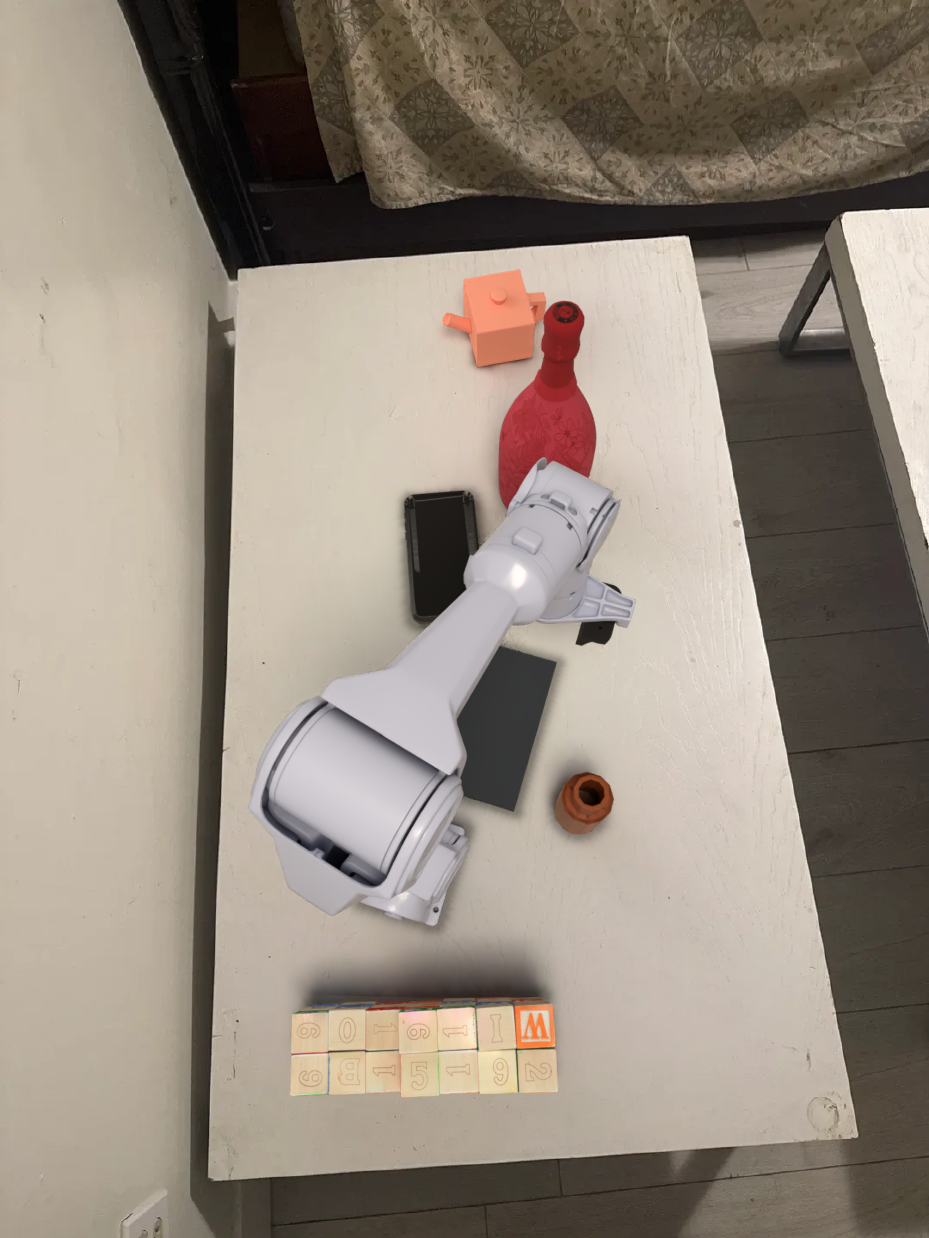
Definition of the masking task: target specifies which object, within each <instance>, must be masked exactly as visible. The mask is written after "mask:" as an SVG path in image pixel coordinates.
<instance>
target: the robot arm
mask: <svg viewBox="0 0 929 1238" xmlns="http://www.w3.org/2000/svg"><path fill="white" fill-rule="evenodd" d="M614 492H615V491H614V490H612V489H611V488H609V487H607V486H604V485H602V484H601V483H598V482H597V481H595V480H592V479H591V478H590V477H589V478H587V477H585V476H583V475H581V474H579V473H577V472H575V471H573V470H571V469H569V468H567V467H565V466H563V465H561V464H559V463H558V462H556V461H552V462H550V463H549V464H548V465H547V459H546V458H545V457H543V458H541V459H540V460H539V461H538V462H537V463H536V464H535V465H534V466H533V467H532V469H531V470H530V472H529V473H528V475H527V476H526V478H525V479H524V481H523V482H522V484H521V486H520V488H519V490H518V492H517V494H516V495H515V496H514V497H513V499H512V501H511V502H510V504H509V507H508V510H507V509H506V514H505V517H504V519H503V520H502V521H501V522H500V524H499V525H498V526H497V527H496V528H495V529H494V531H492V533H491V534H490V535H489V536H488V538H487V539H486V540H484V542H483V543H482V544H481V546H479V550H478V551H477V552H476V553H475V554H474V555H470V557H469V560H468V563H467V566H466V569H465V572H464V584H465V585H466V589H467V590H466V591H464V592H463V593H462V594H461V595H460V596H459V597H458V598H457V599H456V600H455V601H454V602H453V603H452V604H451V605H450V606H449V607H448V608H447V609H446V610H445V611H444V612H443V613H441V614H440V615H439V616H438V617H437V618H436V619H435V620H434V621H433V622H432V623H431V624H428V625H427V627H426V628H424V629H423V630H422V631H421V633H419V634H418V636H416V637H415V638H414V639H413V640H412V641H411V642H410V643H409V644H408V645H407V646H405V648H404V649H402V650H401V652H400V653H398V654H397V655H396V656H395V657H394V658H393V659H392V660H391V661H390V662H389V663H387V664H386V666H385V667H384V668H382V669H379V670H374V671H369V672H363V673H358V674H352V675H346V676H341V677H336V678H334V679H333V680H332V681H330V683H329V684H328V685H327V686H326V688H325V689H324V690H323V691H322V693H321V694H320V695H317V696H314V697H312V698H309V699H307V700H304V701H302V702H300V703H299V704H298V705H296V706H295V707H294V708H293V709H291V711H290V712H289V713H288V714H287V715H286V716H285V717H284V718H283V719H282V720H281V722H280V723H279V724H278V725H277V727H276V728H275V730H274V731H273V733H272V735H271V736H270V738H269V740H268V741H267V742H266V744H265V746H264V748H263V750H262V753H260V754H261V755H260V757H259V759H258V762H257V765H256V767H255V774H254V779H253V783H252V786H251V789H250V799H249V803H248V805H247V810H248V811H249V812H250V813H251V815H252V816H253V817H254V818H255V819H256V820H257V821H258V823H259V824H260V825H261V826H262V827H263V828H264V830H265V831H266V832H267V834H268V835H269V836H270V837H271V838H272V841H273V842H274V846H275V850H276V853H277V857H278V860H279V864H280V867H281V871H282V874H283V877H284V878H283V879H284V882H285V884H286V887H287V888H288V889H289V890H290V891H292V892H294V893H295V894H296V895H297V896H299V897H301V898H302V899H303V900H305V901H306V902H308V903H309V904H311V905H313V906H314V907H315V908H317V909H318V910H320V911H322V912H323V913H325V914H326V915H327V916H329V917H335V916H336V915H338V914H340V913H342V912H343V911H346V910H347V909H349V908H351V907H353V906H354V905H356V904H359V903H361V904H362V905H363V904H364V905H367V906H368V907H369V906H370V907H373V908H375V909H378V910H382V911H383V915H384V916H387V917H390V918H393V919H396V920H399V921H403V919H404V918H405V919H409V920H411V921H415V922H418V923H421V924H424V925H427V926H429V927H435V926H436V925H437V924H438V923H439V920H440V917H441V914H442V910H443V906H444V904H445V903H444V902H445V900H446V897H447V893H448V891H449V887H450V885H451V884H452V882H453V880H454V879H455V877H456V875H457V873H458V872H459V870H460V869H461V867H462V865H463V862H464V861H465V859H466V857H467V855H468V853H469V850H470V844H469V843H470V842H469V837H467V836H466V835H465V833H466V831H465V829H464V828H463V827H461V826H459V825H456V824H452V822H453V820H454V818H455V816H456V814H457V812H458V810H459V808H460V806H461V804H462V801H463V798H464V796H463V790H462V786H461V783H462V782H461V779H460V777H461V774H462V771H463V769H464V766H465V763H466V759H467V753H466V749H465V746H464V743H463V740H462V737H461V734H460V731H459V728H458V725H457V718H458V716H459V714H460V713H461V711H462V709H463V708H464V706H465V704H466V702H467V701H468V699H469V697H470V696H471V694H472V692H473V690H474V689H475V687H476V685H477V684H478V682H479V680H480V678H481V677H482V675H483V673H484V672H485V670H486V668H487V666H488V665H489V663H490V661H491V660H492V658H493V656H494V654H495V653H496V651H497V649H498V648H499V646H501V644H502V643H503V640H504V639H505V637H506V636H507V634H508V632H509V630H510V629H511V627H513V626H514V627H519V626H526V625H530V624H533V623H534V622H535V623H539V624H542V625H543V624H545V625H556V624H557V625H560V624H575V623H578V624H579V623H580V626H579V629H578V633H577V637H576V641H575V645H577V646H580V647H583V646H584V645H587V644H590V643H594V644H598V645H603V646H605V645H607V643H608V642H609V641H610V640H611V639H612V636H613V633H614V629H615V626H617V627H620V628H625V629H628V628H629V626H630V623H631V622H632V619H633V615H634V611H635V606H636V603H637V599H635V598H632V597H629V596H627V595H624V594H622V591H621V589H620V588H619V587H618V586H617V585H614V584H611V583H609V582H604V581H601V580H600V579H598V578H596V577H595V575H594V576H593V575H592V574H590V572H591V569H592V565H593V563H594V560H595V558H596V556H597V554H598V553H599V551H600V550H601V548H602V547H603V545H604V543H605V541H606V540H607V538H608V536H609V535H610V532H611V530H612V529H613V526H614V524H615V522H616V520H617V517H618V515H619V512H620V507H621V505H622V501H623V500H622V499H621V498H620V499H619V498H617V497H615V496H614ZM435 908H437V909H438V910H437V912H435V911H434V909H435Z"/></svg>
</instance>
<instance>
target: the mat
mask: <svg viewBox="0 0 929 1238" xmlns="http://www.w3.org/2000/svg"><path fill="white" fill-rule="evenodd" d="M556 667H557V661H553V660H550V659H547V658H543V657H540V656H536V655H533V654H531V653H526V652H523V651H519V650H516V649H512V648H509V647H505V646H502V645H500V646H499V648H498V649H497V651H496V653H495V654H494V656H493V658H492V660H491V661H490V663H489V665H488V666H487V668H486V670H485V672H484V673H483V675H482V677H481V678H480V680H479V682H478V684H477V685H476V687H475V689H474V690H473V692H472V694H471V696H470V697H469V699H468V701H467V702H466V704H465V706H464V708H463V709H462V711H461V713H460V714H459V716H458V718H457V725H458V728H459V731H460V734H461V737H462V740H463V743H464V746H465V749H466V753H467V759H466V763H465V766H464V769H463V771H462V774H461V777H460V779H461V782H462V783H461V786H462V790H463V797H465V798H468V799H471V800H474V801H478V802H480V803H483V804H484V803H485V804H487V805H491V806H493V807H496V808H497V807H498V808H500V809H504V810H506V811H510V812H515V810H516V806H517V802H518V799H519V796H520V792H521V789H522V785H523V782H524V778H525V774H526V772H527V768H528V764H529V760H530V757H531V754H532V751H533V747H534V743H535V740H536V737H537V733H538V729H539V725H540V722H541V719H542V716H543V712H544V709H545V706H546V702H547V698H548V694H549V692H550V688H551V685H552V680H553V677H554V674H555V670H556Z"/></svg>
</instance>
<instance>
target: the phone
mask: <svg viewBox="0 0 929 1238" xmlns="http://www.w3.org/2000/svg"><path fill="white" fill-rule="evenodd" d="M403 509H404V510H403V511H404V513H403V517H404V531H405V532H404V537H405V540H406V541H405V542H406V553H407V569H408V585H409V598H410V612H411V616H412V619H413V621H414V622H415V623H417V624H419V625H430V624H431V623H432V622H433V621H434V620H435V619H436V618H437V617H438V616H439V615H440V614H441V613H443V612H444V611H445V610H446V609H447V608H448V607H449V606H450V605H451V604H452V603H453V602H454V601H455V600H456V599H457V598H458V597H459V596H460V595H461V594H462V593H463V592H464V591H466V590H467V589H466V585H465V584H464V572H465V569H466V566H467V563H468V560H469V557H470V555H474V554H475V553H476V552H477V551H478V550H479V548H480V546H479V535H478V528H477V527H478V525H477V515H476V505H475V498H474V495H473V493H471V492H470V491H468V490H465V489H464V490H449V491H437V492H426V493H413V494H410V495H408V496H407V497H406V498H405V499H404V502H403Z"/></svg>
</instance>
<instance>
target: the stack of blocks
mask: <svg viewBox="0 0 929 1238" xmlns="http://www.w3.org/2000/svg"><path fill="white" fill-rule="evenodd" d="M555 1029H556V1028H555V1015H554V1005H553V1003H551V1002H550V1001H549V1000H547V999H544V997H542V996H527V997H525V996H524V997H522V996H520V997H519V996H518V997H509V996H489V997H486V996H485V997H452V998H451V997H449V998H447V997H446V998H443V999H435V1000H411V1001H394V1002H393V1001H392V1002H378V1001H376V1000H375V1001H346V1002H336V1003H312V1004H309V1005H307V1006H304V1007H301V1008H299V1009H298V1011H296V1012H293V1013H292V1014H291V1035H290V1036H291V1040H290V1054H291V1058H290V1088H289V1089H290V1090H289V1092H290V1093H289V1096H290V1097H309V1096H324V1095H328V1096H341V1095H360V1094H385V1093H386V1094H387V1093H398V1092H400V1098H423V1097H439V1096H440V1095H457V1094H476V1093H477V1094H479V1095H495V1094H496V1095H497V1094H499V1095H500V1094H516V1093H519V1094H543V1093H544V1094H545V1093H558V1092H559V1081H558V1079H559V1078H558V1065H557V1063H558V1062H557V1061H558V1060H557V1050H556V1048H555V1047H556V1032H555V1031H556V1030H555Z"/></svg>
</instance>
